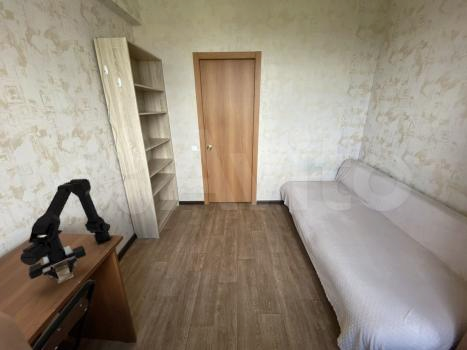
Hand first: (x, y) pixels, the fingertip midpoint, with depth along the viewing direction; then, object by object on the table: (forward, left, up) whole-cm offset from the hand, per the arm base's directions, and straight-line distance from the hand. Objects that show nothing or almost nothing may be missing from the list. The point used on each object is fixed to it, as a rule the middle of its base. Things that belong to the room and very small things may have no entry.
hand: (64, 276), depth 90 cm
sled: (0, -7, -2) cm, 7 cm away
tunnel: (0, -10, -2) cm, 10 cm away
